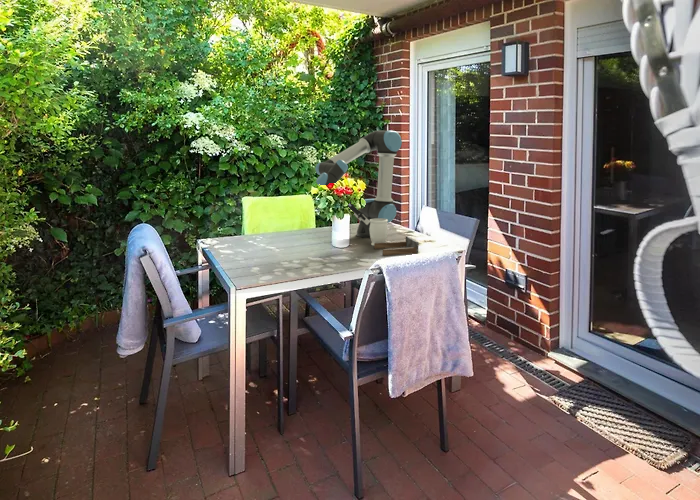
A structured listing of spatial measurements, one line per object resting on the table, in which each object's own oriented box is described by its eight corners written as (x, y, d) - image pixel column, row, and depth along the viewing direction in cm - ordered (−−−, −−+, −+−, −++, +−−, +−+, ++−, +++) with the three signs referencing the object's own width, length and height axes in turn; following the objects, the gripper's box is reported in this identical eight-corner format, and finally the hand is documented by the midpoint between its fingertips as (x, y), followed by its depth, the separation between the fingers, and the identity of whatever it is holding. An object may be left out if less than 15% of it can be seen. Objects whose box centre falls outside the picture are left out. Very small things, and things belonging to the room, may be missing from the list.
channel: (374, 248, 293) (374, 238, 292) (407, 246, 298) (407, 236, 297) (383, 255, 278) (383, 244, 276) (418, 252, 283) (418, 242, 281)
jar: (386, 242, 307) (386, 217, 304) (388, 246, 297) (389, 221, 294) (368, 243, 307) (368, 218, 303) (370, 247, 297) (370, 221, 293)
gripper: (329, 197, 301) (355, 222, 308) (339, 204, 277) (366, 230, 284) (338, 188, 301) (363, 212, 308) (349, 193, 277) (376, 220, 284)
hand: (365, 221), depth 296 cm, fingers open, 13 cm apart
